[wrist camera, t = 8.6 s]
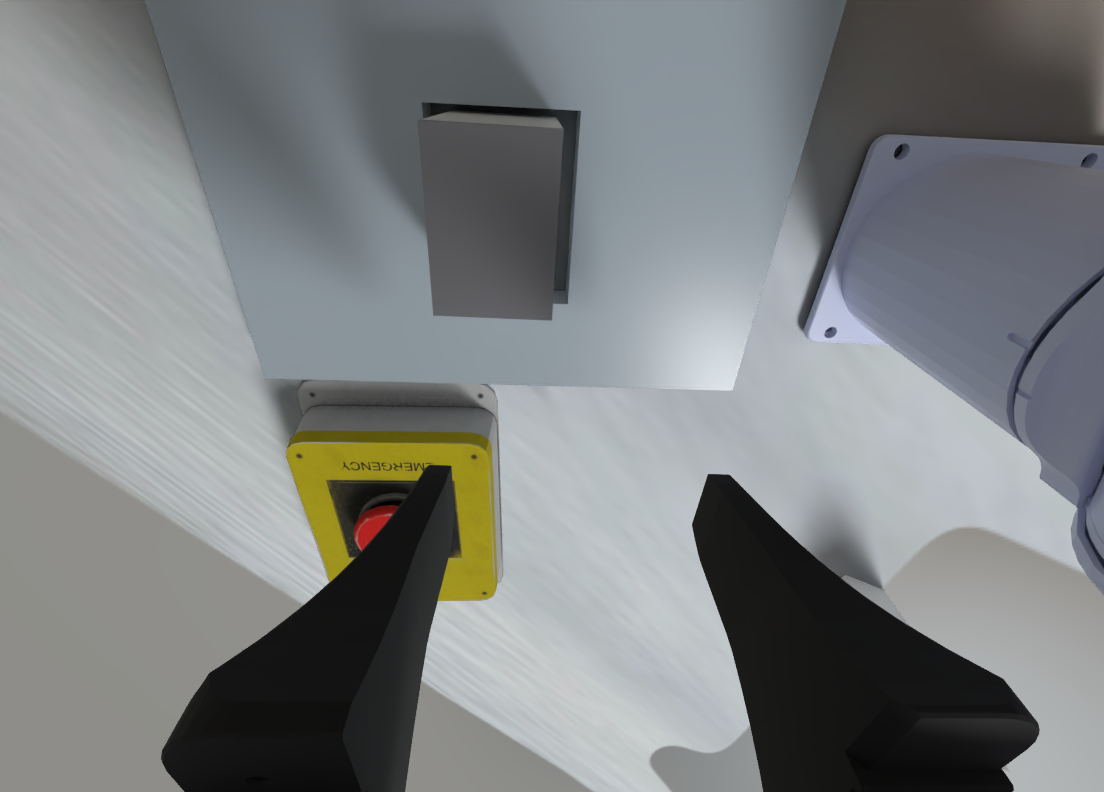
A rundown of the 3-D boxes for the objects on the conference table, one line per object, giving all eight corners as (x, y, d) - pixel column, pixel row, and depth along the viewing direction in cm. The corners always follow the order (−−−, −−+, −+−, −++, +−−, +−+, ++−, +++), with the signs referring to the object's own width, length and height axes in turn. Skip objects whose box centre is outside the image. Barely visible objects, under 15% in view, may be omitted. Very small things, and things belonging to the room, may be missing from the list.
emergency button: (490, 431, 19) (499, 644, 27) (497, 375, 23) (504, 577, 31) (250, 428, 19) (332, 645, 27) (297, 372, 22) (357, 577, 30)
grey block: (555, 116, 17) (563, 129, 12) (548, 259, 19) (552, 320, 14) (454, 110, 17) (417, 120, 11) (460, 255, 19) (433, 315, 14)
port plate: (828, -20, 15) (855, -29, 14) (721, 373, 22) (732, 390, 21) (156, -66, 14) (118, -81, 13) (280, 361, 21) (264, 378, 20)
